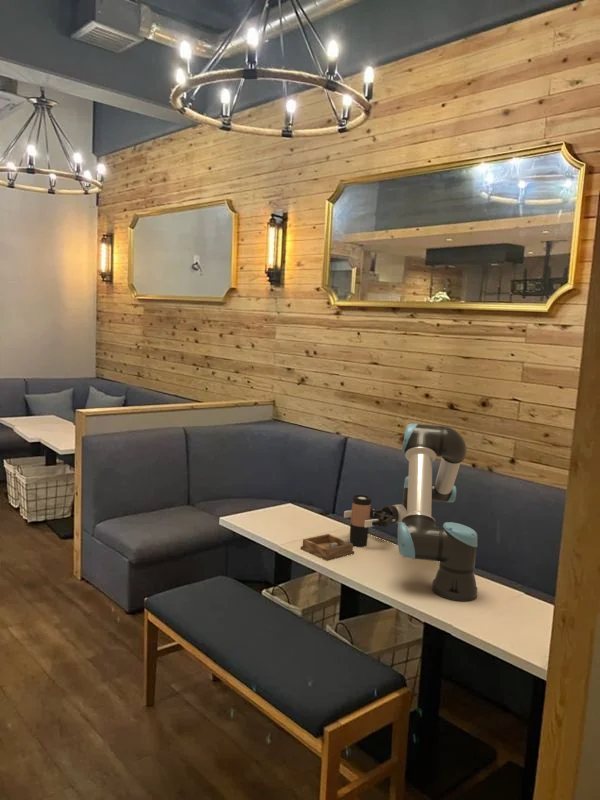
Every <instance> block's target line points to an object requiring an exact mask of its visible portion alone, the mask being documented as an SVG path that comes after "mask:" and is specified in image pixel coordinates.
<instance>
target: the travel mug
mask: <svg viewBox="0 0 600 800" xmlns="http://www.w3.org/2000/svg"><path fill="white" fill-rule="evenodd" d="M351 502H352V505H351V510H352V513H351V517H350V526H349V527H350V530H349V540H350V543H352V544H353V547H355V546H356V548H364V546H365V547H366V546H367V544H368V537H369V529H370V527H366V528H365V527H364V524H365V520H371V517H370V509H371V506H372V498H371V497H369V495H367V494H354V495H353V496H352V501H351Z"/></svg>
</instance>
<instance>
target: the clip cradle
mask: <svg viewBox="0 0 600 800" xmlns="http://www.w3.org/2000/svg"><path fill="white" fill-rule="evenodd" d="M353 548H354V546H353V544H352V543H350V539H342V538H339V537H338V536H334V535H332V534H329V533H326V534H322V535H315V536H312V537H311V536H310V537H308V538H304V539H303V538H302V545H301V546H300V550H302V551H304V552H307V553H308V552H309V554H311V555H312V556H315V557H317V558H319V559H321V558H322V559H321V560H324V561H326V562H327V561H331V560H336V559H340V558H344V557H347V555H348V556H352V555H354V554H355V551H354V549H353ZM351 554H352V555H351ZM343 556H344V557H343ZM335 558H336V559H335Z"/></svg>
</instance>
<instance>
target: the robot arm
mask: <svg viewBox="0 0 600 800" xmlns="http://www.w3.org/2000/svg"><path fill="white" fill-rule="evenodd" d="M403 435H404V437H403V442H402V446H401V453H402V454H405V459H406V460H407V461H408V475H407V476H406V477H405V478H404V484H403V492H402V493H403V495H402V504H393V505H386V506H383V507H382V509H377V508H376V507H374V508H371V507H370V520H365V524H364V527H365V528H366V527H369V528H372V527H382V528H387V527H388V526H390V525H391V524H397V547H398V552H399V554H400V556H402V558H403V557H404V558H409V559H412V560H425V561H432V562H434V561H435V562H439V567H438V569H437V572H436V574H435V578H434V579H433V580H432V584H431V591H433V593H435V594H436V595H438V597H441V598H445V599H448V600H452V601H456V602H458V601H459V602H468V601H469V602H470V601H473V600H475V599H477V597H478V587H477V582H476V577H475V566H476V557H477V548H478V533H477V531H475V530H474V529H473V528H471V527H469V526H467V525H464V524H462V523H457V522H454V521H453V522H452V521H449V522H448V521H446V522H444V523H443V524H442V526H437V525H436V524H437V521H436V519H435V518H434V517H433V516H432V506H433V505H432V503H433V502H432V501H434V502H441V503H443V502H444V503H454V502H455V501H456V499H457V486H456V485H455V482H456V479H457V476H458V472H459V469H460V466H461V464H462V463H463V462H464V460H465V459H466V455H467V450H468V449H467V445H466V444H467V443H466V442H465V439H464V438H463V436H462V435H461V434H460V433H459V432H458V431H457V430H456V429H454V428H452V427H449V426H447V425H435V424H434V425H432V424H420V423H408V424H407V425H406V427H405V432H404V434H403ZM437 457H441V459H440V464H439V466H438V472H437V475H436V479H435V483H434V482H433V462H435V461H436V460H437ZM351 513H352V509H351V510H350V509H349V510H345V511H344V512H343V518H344V519H346V518H351Z"/></svg>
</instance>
